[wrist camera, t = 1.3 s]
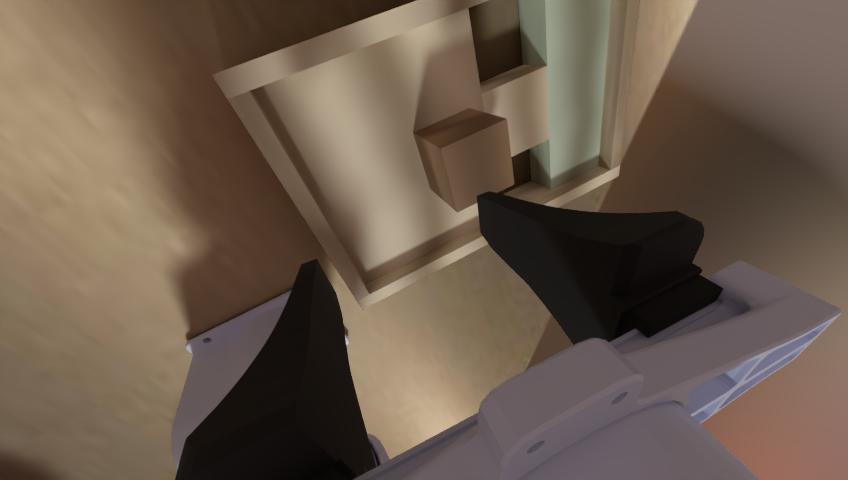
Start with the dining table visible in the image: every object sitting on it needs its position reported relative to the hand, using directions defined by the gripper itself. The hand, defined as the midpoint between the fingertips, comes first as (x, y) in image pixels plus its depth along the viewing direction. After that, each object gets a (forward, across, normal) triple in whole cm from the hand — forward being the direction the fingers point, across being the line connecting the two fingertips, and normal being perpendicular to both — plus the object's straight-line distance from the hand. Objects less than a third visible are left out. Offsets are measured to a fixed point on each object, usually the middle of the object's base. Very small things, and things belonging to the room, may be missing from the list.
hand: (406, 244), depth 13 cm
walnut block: (+8, -6, 0) cm, 10 cm away
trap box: (+10, -8, 0) cm, 13 cm away
